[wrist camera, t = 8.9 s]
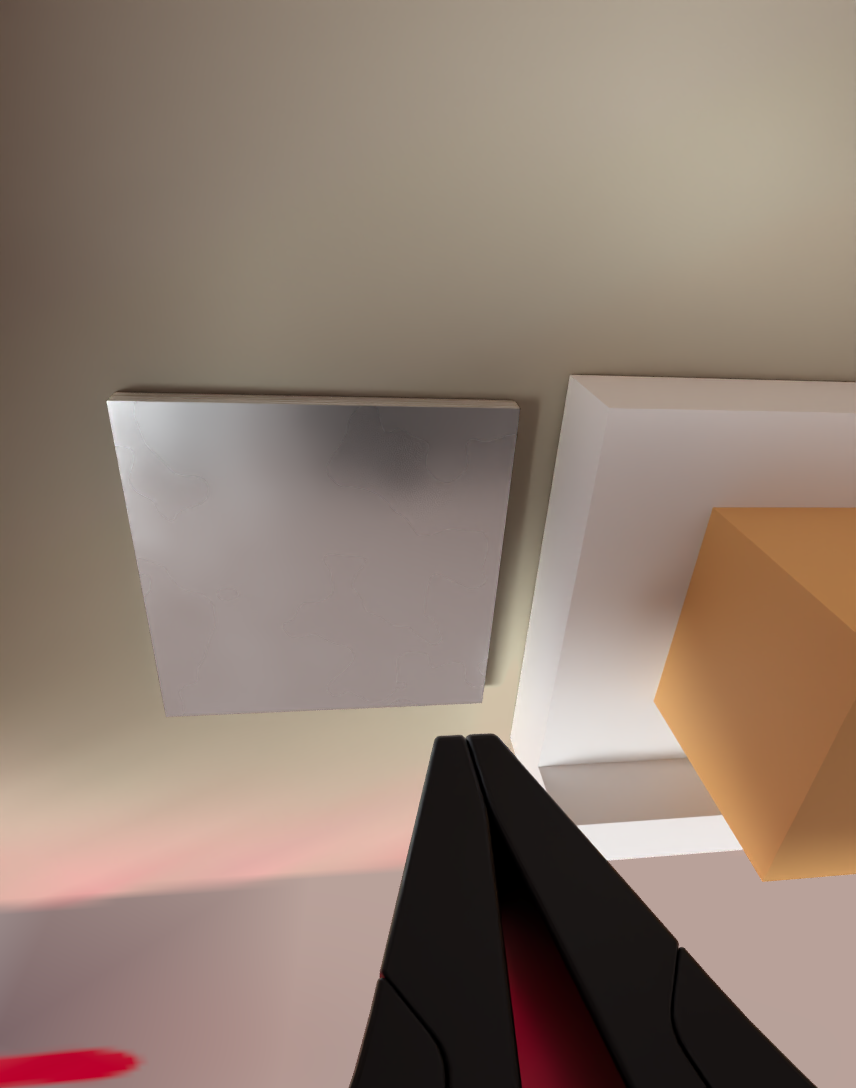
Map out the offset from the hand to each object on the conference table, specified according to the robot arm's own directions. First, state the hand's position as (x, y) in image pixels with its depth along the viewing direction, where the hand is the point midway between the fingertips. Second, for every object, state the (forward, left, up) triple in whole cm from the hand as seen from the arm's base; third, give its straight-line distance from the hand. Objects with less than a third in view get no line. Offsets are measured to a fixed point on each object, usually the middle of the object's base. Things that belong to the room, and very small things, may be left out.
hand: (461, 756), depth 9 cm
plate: (0, -2, -5) cm, 6 cm away
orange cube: (0, +7, -3) cm, 8 cm away
